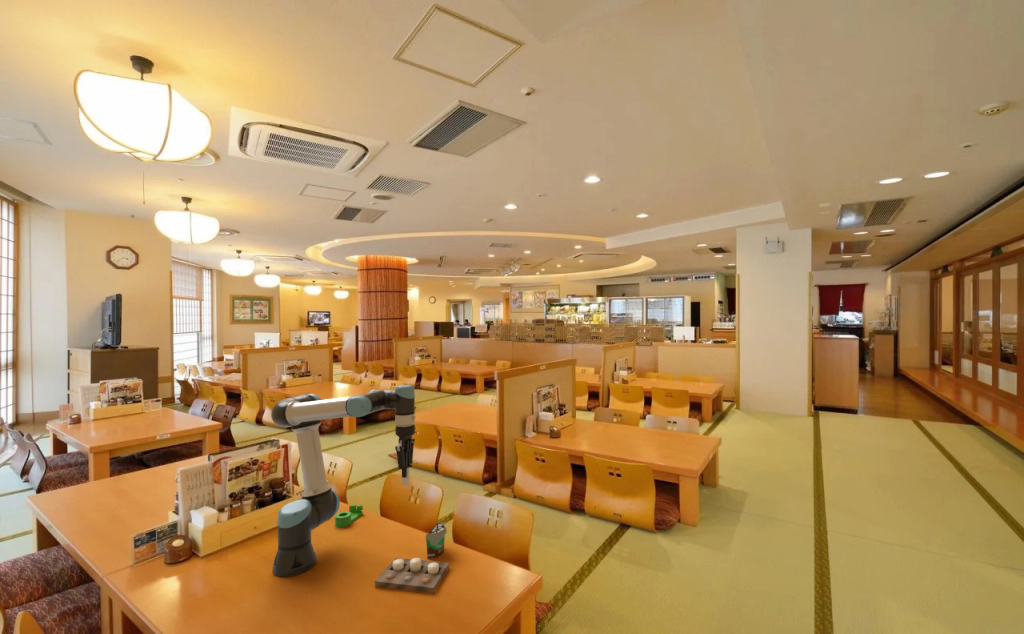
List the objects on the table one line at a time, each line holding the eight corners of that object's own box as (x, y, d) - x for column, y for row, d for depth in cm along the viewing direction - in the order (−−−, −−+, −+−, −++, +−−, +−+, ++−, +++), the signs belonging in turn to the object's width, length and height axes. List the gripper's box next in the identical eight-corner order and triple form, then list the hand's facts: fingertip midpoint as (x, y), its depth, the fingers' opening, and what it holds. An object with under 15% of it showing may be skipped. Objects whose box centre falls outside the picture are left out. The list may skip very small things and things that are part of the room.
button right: (426, 577, 160) (426, 567, 160) (430, 571, 164) (430, 562, 164) (436, 578, 159) (436, 568, 159) (440, 572, 163) (440, 563, 163)
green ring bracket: (345, 528, 201) (345, 518, 201) (331, 527, 202) (331, 517, 202) (363, 514, 215) (363, 505, 215) (350, 513, 217) (350, 504, 217)
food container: (440, 561, 171) (440, 536, 171) (425, 560, 172) (425, 534, 172) (451, 545, 183) (450, 522, 183) (437, 544, 184) (437, 520, 184)
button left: (390, 573, 162) (390, 564, 162) (395, 567, 166) (395, 558, 166) (400, 574, 162) (400, 565, 162) (405, 568, 166) (405, 559, 166)
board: (375, 586, 155) (375, 580, 155) (395, 562, 171) (395, 557, 171) (433, 593, 151) (433, 587, 151) (449, 568, 166) (449, 562, 166)
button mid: (408, 572, 161) (408, 563, 161) (412, 566, 165) (412, 557, 165) (418, 573, 160) (418, 564, 160) (422, 567, 164) (422, 558, 164)
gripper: (406, 428, 165) (407, 491, 164) (420, 421, 177) (421, 479, 177) (388, 428, 166) (389, 490, 166) (403, 420, 179) (404, 478, 178)
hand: (405, 484), depth 171 cm, fingers closed
